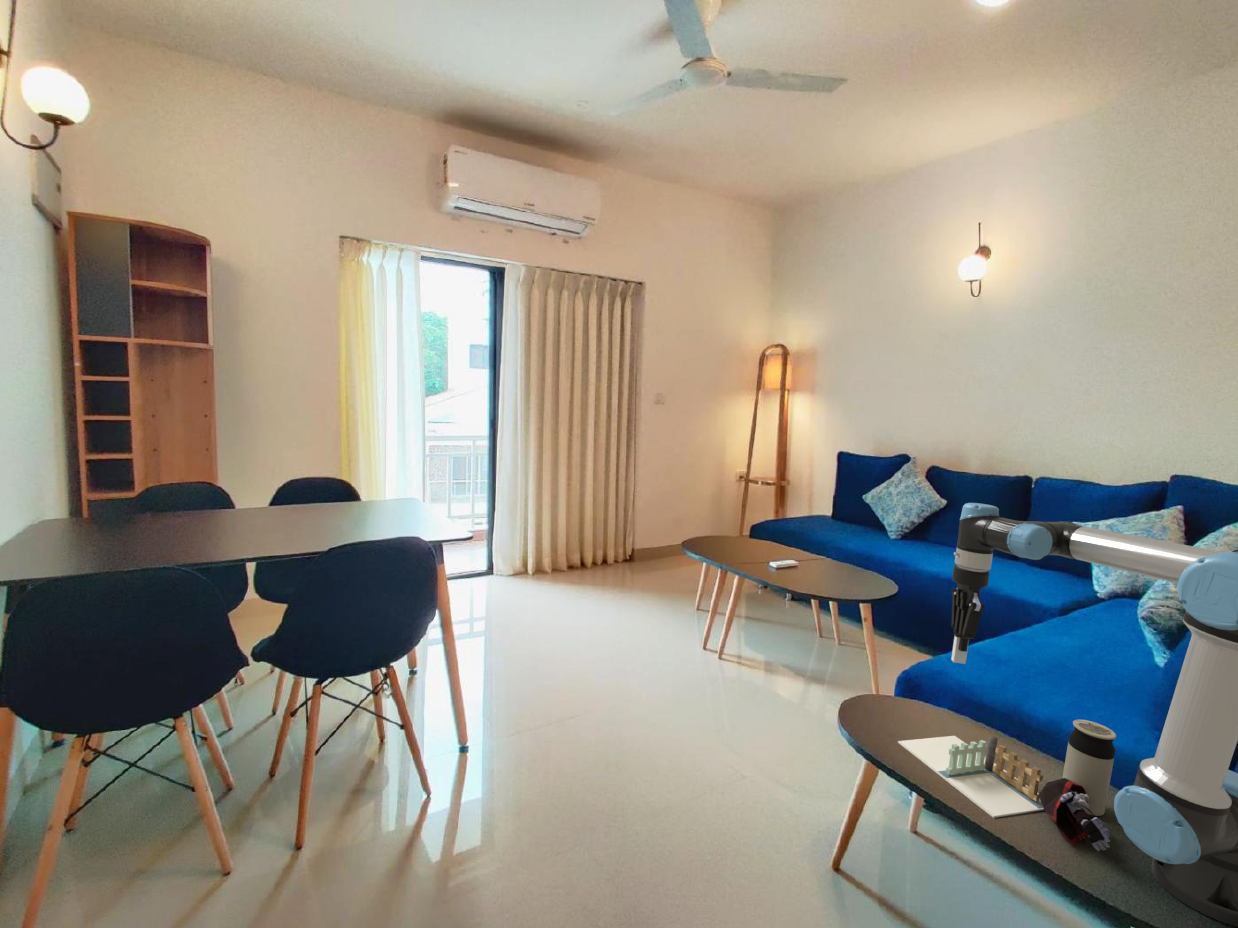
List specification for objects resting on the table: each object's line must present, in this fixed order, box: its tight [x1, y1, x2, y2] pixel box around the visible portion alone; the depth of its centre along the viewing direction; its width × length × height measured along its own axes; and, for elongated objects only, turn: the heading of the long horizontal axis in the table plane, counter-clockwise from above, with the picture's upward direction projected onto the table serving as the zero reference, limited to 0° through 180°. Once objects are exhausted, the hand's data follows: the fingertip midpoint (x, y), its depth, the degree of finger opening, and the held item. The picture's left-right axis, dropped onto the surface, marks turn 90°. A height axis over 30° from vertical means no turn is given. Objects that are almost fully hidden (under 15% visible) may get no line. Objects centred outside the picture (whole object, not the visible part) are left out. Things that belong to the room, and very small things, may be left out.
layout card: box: [897, 735, 1045, 819], centre depth 141 cm, size 28×18×1 cm, turn 16°
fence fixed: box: [985, 734, 1044, 801], centre depth 137 cm, size 13×2×8 cm, turn 16°
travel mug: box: [1062, 719, 1117, 817], centre depth 132 cm, size 8×8×18 cm
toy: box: [1038, 777, 1111, 852], centre depth 123 cm, size 12×9×15 cm
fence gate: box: [946, 739, 988, 775], centre depth 140 cm, size 11×1×7 cm, turn 108°
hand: (958, 661), depth 145 cm, fingers closed
